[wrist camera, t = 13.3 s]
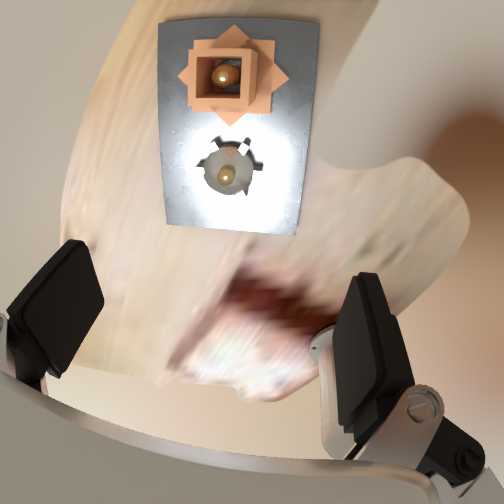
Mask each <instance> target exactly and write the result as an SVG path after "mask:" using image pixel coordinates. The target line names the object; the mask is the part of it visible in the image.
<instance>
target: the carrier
mask: <svg viewBox="0 0 504 504" xmlns="http://www.w3.org/2000/svg"><path fill="white" fill-rule="evenodd" d="M234 24H235V25H236V26H237V27H238V28H239V29H240V30H241V31H242V32H243V33H245V34H246V35H247V36H248V37H249V38H250V39H256V40H273V41H275V53H274V63H275V64H276V65H277V66H278V67H279V68H280V69H281V70H282V71H283V73H284V74H285V75H286V76H287V77H288V78H289V80H287V81H286V82H285V83H283V84H282V85H281V86H280V87H278V88H277V89H276V90H274V91H273V92H272V94H271V108H270V115H267V114H253V113H246V114H245V115H244V116H242V117H241V118H240V119H239V120H238V121H237V122H235V123H234V124H233V125H232V126H231V127H229V126H228V125H227V124H226V123H225V122H224V121H223V120H222V119H221V118H220V117H219V116H218V115H217V114H216V113H215V112H192V106H188V86H187V85H186V84H185V83H184V82H183V81H182V80H181V79H180V78H179V77H178V75H179V74H180V73H181V72H182V71H183V70H184V69H185V68H186V67H187V66H188V55H189V50H191V49H194V40H204V39H218V38H219V37H220V36H221V35H222V34H223V33H225V32H226V31H227V30H228V29H229V28H231V27H232V26H233V25H234ZM319 27H320V24H319V23H312V22H304V21H295V20H285V19H271V18H245V17H230V18H204V19H191V20H180V21H172V22H164V23H159V24H158V69H157V72H158V118H159V139H160V154H161V168H162V180H163V191H164V201H165V210H166V219H167V224H168V225H181V226H194V227H206V228H218V229H229V230H241V231H252V232H263V233H273V234H284V235H294V236H295V235H296V228H297V222H298V215H299V208H300V201H301V194H302V187H303V180H304V172H305V165H306V157H307V149H308V141H309V133H310V124H311V115H312V106H313V96H314V86H315V76H316V65H317V53H318V41H319ZM241 70H242V61H241V60H239V59H227V60H226V61H225V62H223V63H222V64H221V65H220V66H218V67H216V68H215V69H214V70H213V72H212V76H211V78H212V81H213V83H214V84H215V85H216V86H218V87H220V88H223V89H224V90H225V91H240V89H241Z"/></svg>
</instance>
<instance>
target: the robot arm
mask: <svg viewBox="0 0 504 504" xmlns="http://www.w3.org/2000/svg"><path fill="white" fill-rule="evenodd" d="M103 306H104V297H103V294H102V291H101V288H100V285H99V282H98V279H97V276H96V273H95V270H94V266H93V263H92V260H91V256H90V253H89V249H88V247H87V246H86V245H85V243H84V242H83V241H81V240H73V239H70V240H68V241H67V242H66V243H65V244H64V245H63V246H62V247H61V248H60V249H59V250H58V251H57V252H56V253H55V254H54V255H53V256H52V257H51V258H50V259H49V260H48V262H47V263H46V264H45V265H44V266H43V267H42V268H41V269H40V270H39V271H38V273H37V274H36V275H35V276H34V277H33V278H32V279H31V280H30V282H29V283H28V284H27V285H26V286H25V287H24V289H23V290H22V291H21V292H20V293H19V295H18V296H17V297H16V298H15V300H14V301H13V302H12V303H11V305H10V306H9V307H8V309H7V310H6V311H7V313H8V314H9V316H10V318H9V320H8V319H7V318H6V316H5V315H4V314H2V313H0V504H504V489H503V487H502V486H501V484H500V483H499V481H498V480H497V478H496V477H495V475H494V473H493V472H492V471H491V469H490V468H489V467H487V468H485V467H484V464H485V453H484V450H483V448H482V446H481V445H480V443H479V442H478V441H476V440H475V439H474V438H472V437H471V436H469V435H468V434H467V433H465V432H464V431H463V430H461V429H460V428H459V427H457V426H456V425H455V424H453V423H452V422H451V421H449V420H448V419H447V418H445V417H444V416H443V415H444V403H443V400H442V398H441V396H440V395H439V393H438V392H437V391H435V390H434V389H433V388H431V387H429V386H427V385H421V384H419V385H415V381H414V377H413V373H412V369H411V366H410V362H409V358H408V355H407V351H406V348H405V344H404V341H403V337H402V334H401V331H400V328H399V324H398V321H397V319H396V317H395V316H394V315H393V314H391V313H390V310H389V307H388V303H387V300H386V297H385V294H384V291H383V289H382V286H381V283H380V280H379V277H378V275H377V274H376V273H367V272H360V273H359V274H358V276H353V277H352V280H351V283H350V286H349V289H348V292H347V295H346V297H345V300H344V303H343V306H342V309H341V311H340V314H339V317H338V320H337V322H336V324H335V325H332V326H330V327H327V328H325V329H323V330H322V331H320V332H319V333H318V334H316V335H315V336H314V337H313V339H312V340H311V342H310V344H309V355H310V357H311V359H312V360H313V361H314V362H316V363H317V364H319V375H320V398H321V436H322V437H321V438H322V444H323V446H324V449H325V450H326V452H327V453H328V454H329V455H330V456H331V457H332V458H334V459H335V460H327V459H325V460H324V459H292V458H277V457H266V456H255V455H245V454H238V453H231V452H224V451H218V450H212V449H207V448H201V447H196V446H192V445H187V444H182V443H177V442H174V441H170V440H166V439H161V438H158V437H154V436H151V435H147V434H144V433H140V432H137V431H134V430H130V429H127V428H124V427H122V426H118V425H116V424H113V423H110V422H107V421H105V420H102V419H99V418H97V417H94V416H92V415H89V414H87V413H84V412H82V411H80V410H77V409H75V408H73V407H70V406H68V405H66V404H64V403H61V402H59V401H57V400H55V399H53V398H51V397H49V396H48V391H47V385H46V379H45V373H46V371H47V372H48V373H49V374H50V375H52V376H54V377H56V378H58V379H60V377H61V375H62V373H64V372H65V371H66V370H67V368H68V367H69V365H70V363H71V361H72V359H73V358H74V356H75V354H76V352H77V350H78V349H79V347H80V345H81V343H82V342H83V340H84V338H85V336H86V335H87V333H88V331H89V330H90V328H91V326H92V325H93V323H94V321H95V320H96V318H97V316H98V315H99V313H100V312H101V310H102V308H103Z"/></svg>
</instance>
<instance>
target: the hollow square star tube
mask: <svg viewBox="0 0 504 504" xmlns="http://www.w3.org/2000/svg"><path fill="white" fill-rule="evenodd" d="M274 53H275V41H273V40H256V39H250V38H249V37H248V36H247V35H246V34H245V33H243V32H242V31H241V30H240V29H239V28H238V27H237V26H236V25H235V24H234V25H233V26H232V27H231V28H229V29H228V30H227V31H226V32H225V33H223V34H222V35H221V36H220V37H219V38H218V39H204V40H194V49H191V50H189V55H188V66H187V67H186V68H185V69H184V70H183V71H182V72H181V73H180V74H179V75H178V77H179V78H180V79H181V80H182V81H183V82H184V83H185V84H186V85H187V86H188V106H192V112H215V113H216V114H217V115H218V116H219V117H220V118H221V119H222V120H223V121H224V122H225V123H226V124H227V125H228V126H229V127H231V126H232V125H233V124H234V123H235V122H237V121H238V120H239V119H240V118H241V117H242V116H244V115H245V114H246V113H253V114H267V115H270V108H271V94H272V92H273V91H274V90H276V89H277V88H278V87H280V86H281V85H282V84H283V83H285V82H286V81H287V80H289V78H288V77H287V76H286V75H285V74H284V73H283V71H282V70H281V69H280V68H279V67H278V66H277V65H276V64H275V63H274ZM227 59H239V60H241V61H242V70H241V89H240V91H225V90H224V89H223V88H220V87H218V86H216V85H215V84H214V83H213V81H212V78H211V76H212V72H213V70H214V69H215V68H216V67H218V66H220V65H221V64H222V63H223V62H225V61H226V60H227Z"/></svg>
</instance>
